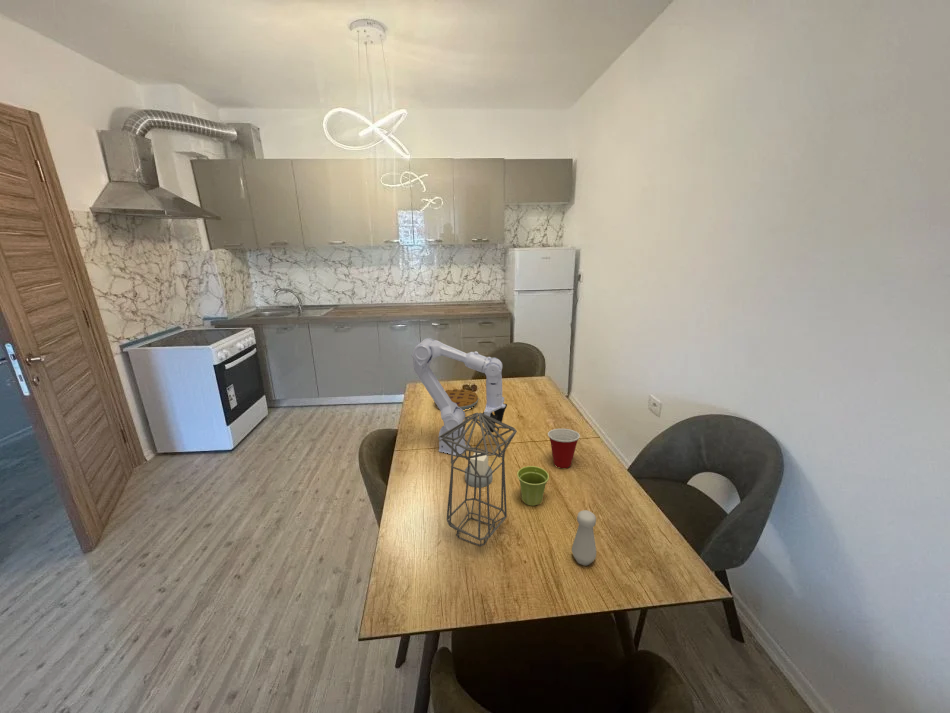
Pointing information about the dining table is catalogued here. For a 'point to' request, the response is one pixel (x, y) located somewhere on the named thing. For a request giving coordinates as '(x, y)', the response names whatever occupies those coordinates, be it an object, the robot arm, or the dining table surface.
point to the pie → (463, 398)
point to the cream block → (480, 464)
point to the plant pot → (532, 484)
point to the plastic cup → (563, 446)
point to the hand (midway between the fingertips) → (494, 427)
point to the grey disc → (483, 480)
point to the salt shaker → (585, 538)
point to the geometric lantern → (486, 421)
